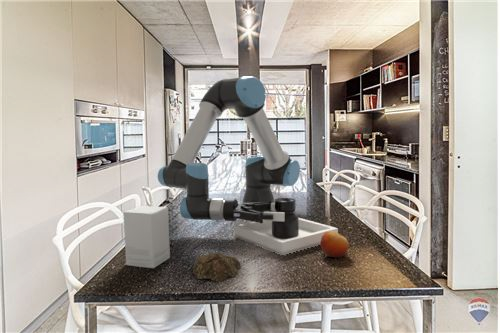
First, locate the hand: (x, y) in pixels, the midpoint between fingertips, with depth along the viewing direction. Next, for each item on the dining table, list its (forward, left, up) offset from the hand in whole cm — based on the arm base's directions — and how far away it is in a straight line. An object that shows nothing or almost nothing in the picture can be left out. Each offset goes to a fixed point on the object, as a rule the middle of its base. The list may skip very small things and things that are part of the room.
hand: (287, 212), depth 125 cm
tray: (0, -1, -9) cm, 9 cm away
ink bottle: (0, -1, -8) cm, 8 cm away
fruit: (0, +20, -9) cm, 22 cm away
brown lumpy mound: (+33, +9, -10) cm, 36 cm away
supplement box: (+44, -9, -9) cm, 46 cm away
